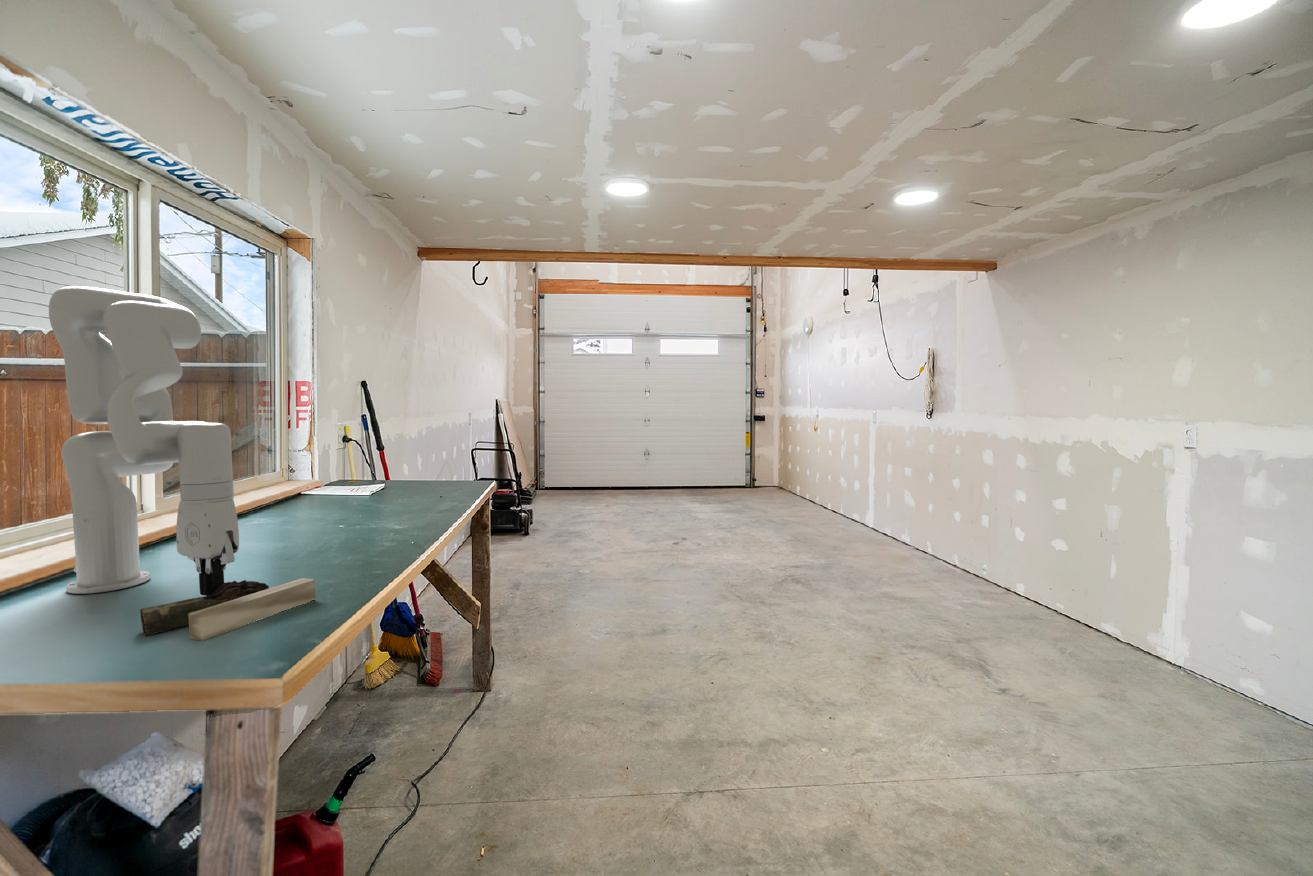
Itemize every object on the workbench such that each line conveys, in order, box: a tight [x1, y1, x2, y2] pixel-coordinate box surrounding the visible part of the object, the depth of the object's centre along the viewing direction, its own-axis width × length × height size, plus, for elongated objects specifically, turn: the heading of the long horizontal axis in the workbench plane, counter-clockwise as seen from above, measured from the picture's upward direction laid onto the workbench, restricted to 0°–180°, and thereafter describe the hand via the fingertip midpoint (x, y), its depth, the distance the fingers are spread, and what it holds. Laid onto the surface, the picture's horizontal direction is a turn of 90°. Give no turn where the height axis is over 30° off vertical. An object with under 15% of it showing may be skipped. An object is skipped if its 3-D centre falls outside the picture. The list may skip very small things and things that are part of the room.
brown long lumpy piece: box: [139, 579, 270, 637], centre depth 101 cm, size 18×7×6 cm, turn 136°
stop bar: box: [188, 577, 316, 642], centre depth 101 cm, size 3×20×4 cm, turn 160°
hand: (212, 592), depth 105 cm, fingers closed
